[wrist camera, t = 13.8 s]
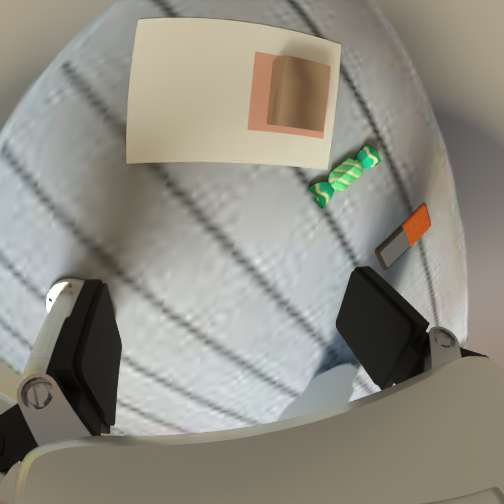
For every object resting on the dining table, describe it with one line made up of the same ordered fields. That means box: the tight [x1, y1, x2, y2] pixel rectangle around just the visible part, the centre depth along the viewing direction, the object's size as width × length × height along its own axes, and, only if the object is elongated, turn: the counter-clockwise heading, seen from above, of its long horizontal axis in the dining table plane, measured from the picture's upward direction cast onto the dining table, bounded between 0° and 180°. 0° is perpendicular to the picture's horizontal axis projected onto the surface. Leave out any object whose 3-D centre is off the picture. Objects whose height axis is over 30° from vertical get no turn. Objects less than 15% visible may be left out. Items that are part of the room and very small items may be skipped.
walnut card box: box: [267, 55, 330, 132], centre depth 30 cm, size 6×9×4 cm, turn 174°
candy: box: [308, 144, 381, 208], centre depth 38 cm, size 12×3×4 cm
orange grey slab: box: [374, 204, 431, 270], centre depth 49 cm, size 6×1×15 cm
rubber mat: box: [126, 18, 341, 170], centre depth 30 cm, size 20×28×1 cm
